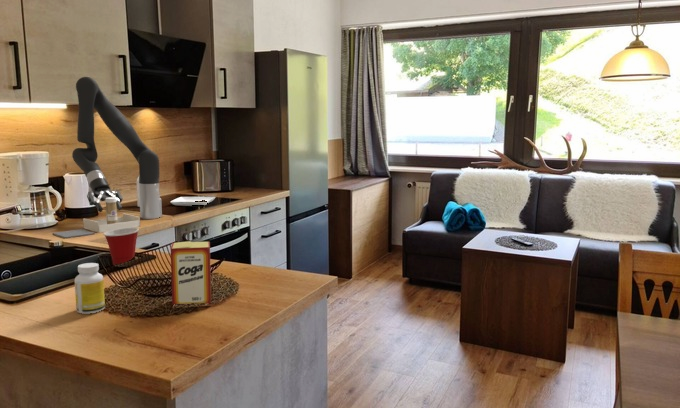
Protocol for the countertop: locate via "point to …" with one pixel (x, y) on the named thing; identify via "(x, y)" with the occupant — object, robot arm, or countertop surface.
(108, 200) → the sprinkles bottle
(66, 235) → the coaster
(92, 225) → the white shallow box
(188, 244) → the baking soda box
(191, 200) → the salad plate
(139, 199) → the milk carton
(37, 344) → the countertop surface
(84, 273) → the pill bottle
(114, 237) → the plastic cup
